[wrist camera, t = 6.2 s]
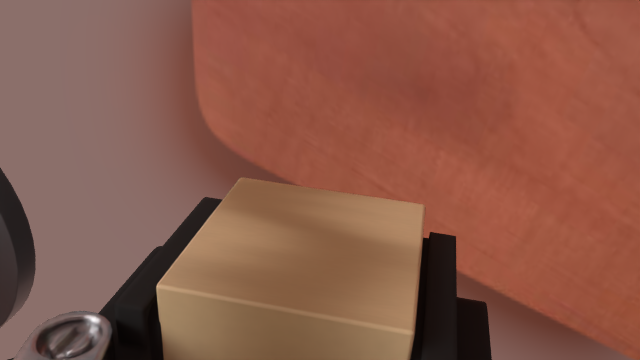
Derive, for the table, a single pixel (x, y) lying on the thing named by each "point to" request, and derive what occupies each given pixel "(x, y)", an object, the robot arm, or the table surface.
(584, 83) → the table surface
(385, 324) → the block
